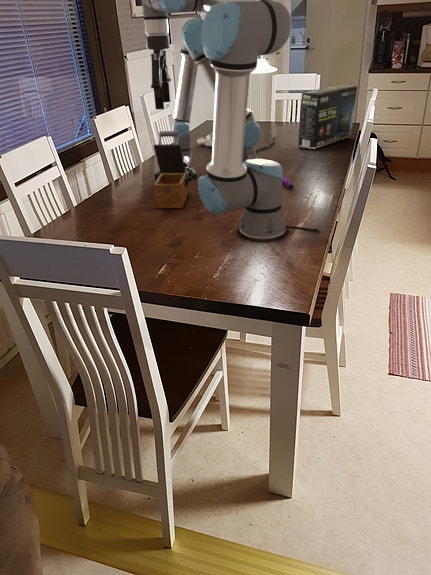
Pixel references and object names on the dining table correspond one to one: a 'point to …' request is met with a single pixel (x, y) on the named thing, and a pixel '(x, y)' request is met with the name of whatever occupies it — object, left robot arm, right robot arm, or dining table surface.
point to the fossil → (206, 140)
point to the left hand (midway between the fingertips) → (172, 183)
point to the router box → (326, 115)
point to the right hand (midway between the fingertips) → (163, 105)
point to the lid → (169, 154)
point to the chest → (170, 190)
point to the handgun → (287, 183)
